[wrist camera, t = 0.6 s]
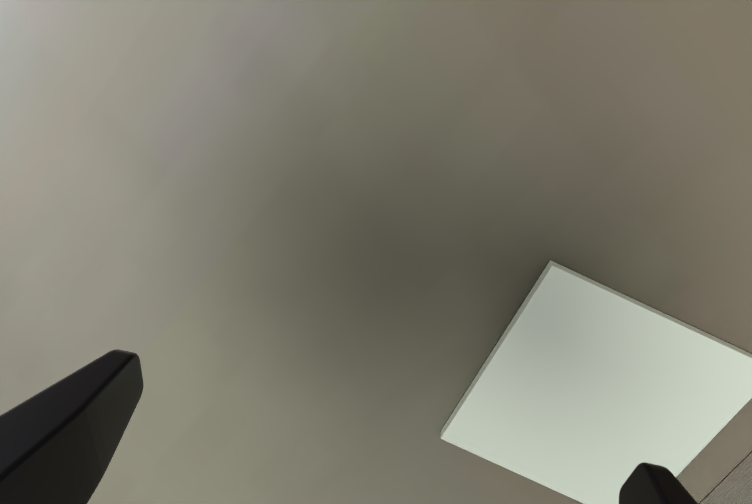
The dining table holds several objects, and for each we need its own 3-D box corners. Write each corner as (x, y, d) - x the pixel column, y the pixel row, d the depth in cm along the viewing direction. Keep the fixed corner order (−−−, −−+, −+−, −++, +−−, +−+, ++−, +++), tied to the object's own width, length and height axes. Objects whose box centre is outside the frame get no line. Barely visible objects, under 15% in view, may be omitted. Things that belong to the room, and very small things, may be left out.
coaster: (627, 515, 28) (630, 524, 27) (440, 430, 27) (440, 438, 27) (769, 362, 23) (777, 370, 23) (550, 260, 23) (552, 265, 22)
